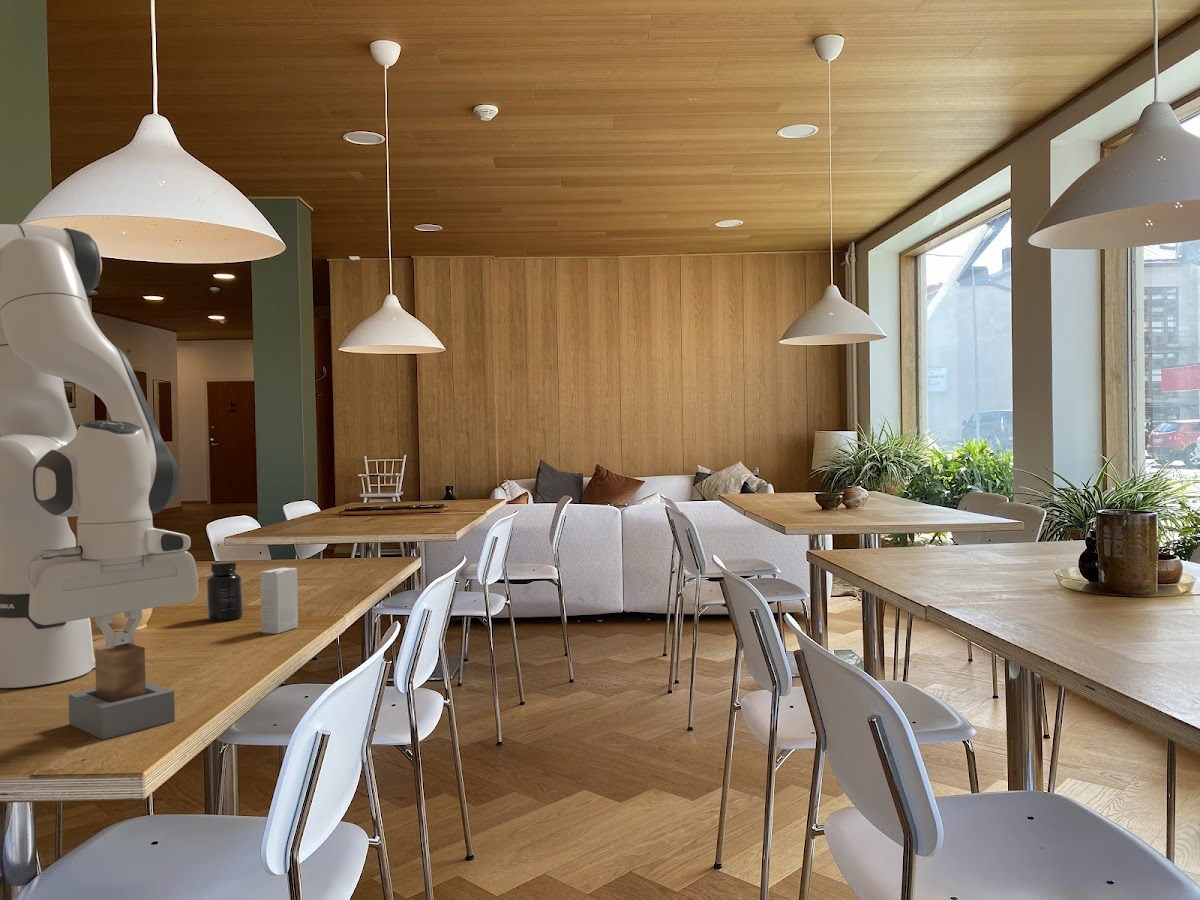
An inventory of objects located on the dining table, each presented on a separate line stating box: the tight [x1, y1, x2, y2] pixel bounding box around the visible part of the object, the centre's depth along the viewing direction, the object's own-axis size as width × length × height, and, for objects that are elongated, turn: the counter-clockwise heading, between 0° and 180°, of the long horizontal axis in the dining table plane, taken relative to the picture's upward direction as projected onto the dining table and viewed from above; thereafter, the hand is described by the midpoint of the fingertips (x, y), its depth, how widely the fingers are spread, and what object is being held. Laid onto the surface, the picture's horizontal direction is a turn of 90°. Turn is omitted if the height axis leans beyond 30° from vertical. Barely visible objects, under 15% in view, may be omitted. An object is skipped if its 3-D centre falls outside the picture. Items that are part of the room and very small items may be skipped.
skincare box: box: [259, 567, 299, 635], centre depth 174 cm, size 6×4×12 cm
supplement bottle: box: [206, 560, 244, 622], centre depth 187 cm, size 7×7×12 cm
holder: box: [68, 681, 176, 741], centre depth 117 cm, size 10×9×4 cm
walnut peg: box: [94, 644, 147, 703], centre depth 117 cm, size 4×6×10 cm
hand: (119, 646), depth 117 cm, fingers closed
